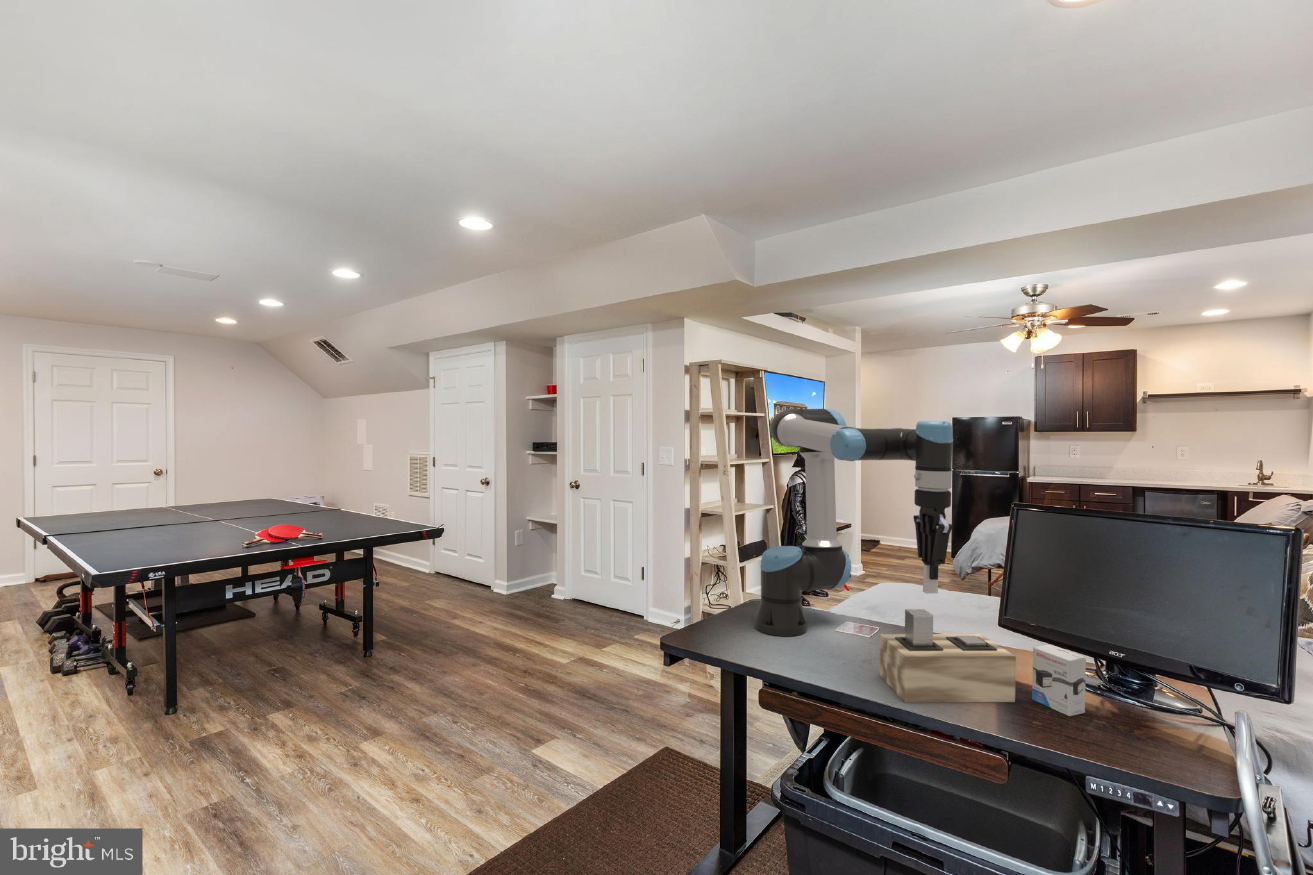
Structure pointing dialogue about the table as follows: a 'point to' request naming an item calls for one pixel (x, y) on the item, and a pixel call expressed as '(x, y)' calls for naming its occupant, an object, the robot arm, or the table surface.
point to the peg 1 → (918, 628)
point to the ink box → (1059, 679)
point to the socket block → (947, 670)
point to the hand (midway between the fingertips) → (930, 592)
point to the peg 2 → (970, 641)
